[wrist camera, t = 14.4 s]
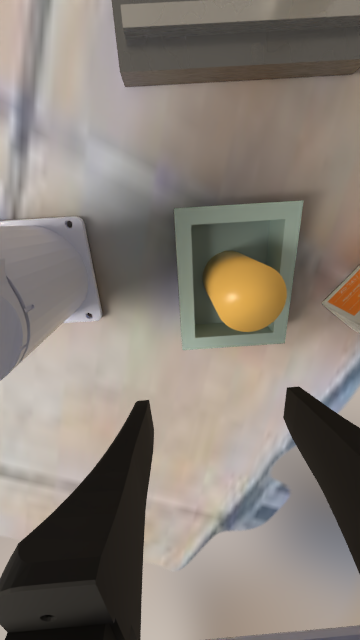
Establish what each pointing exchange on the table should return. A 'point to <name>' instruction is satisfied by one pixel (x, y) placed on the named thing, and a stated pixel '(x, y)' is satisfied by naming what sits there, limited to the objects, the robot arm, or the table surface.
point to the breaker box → (234, 39)
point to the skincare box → (347, 301)
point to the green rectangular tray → (240, 236)
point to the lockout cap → (244, 291)
